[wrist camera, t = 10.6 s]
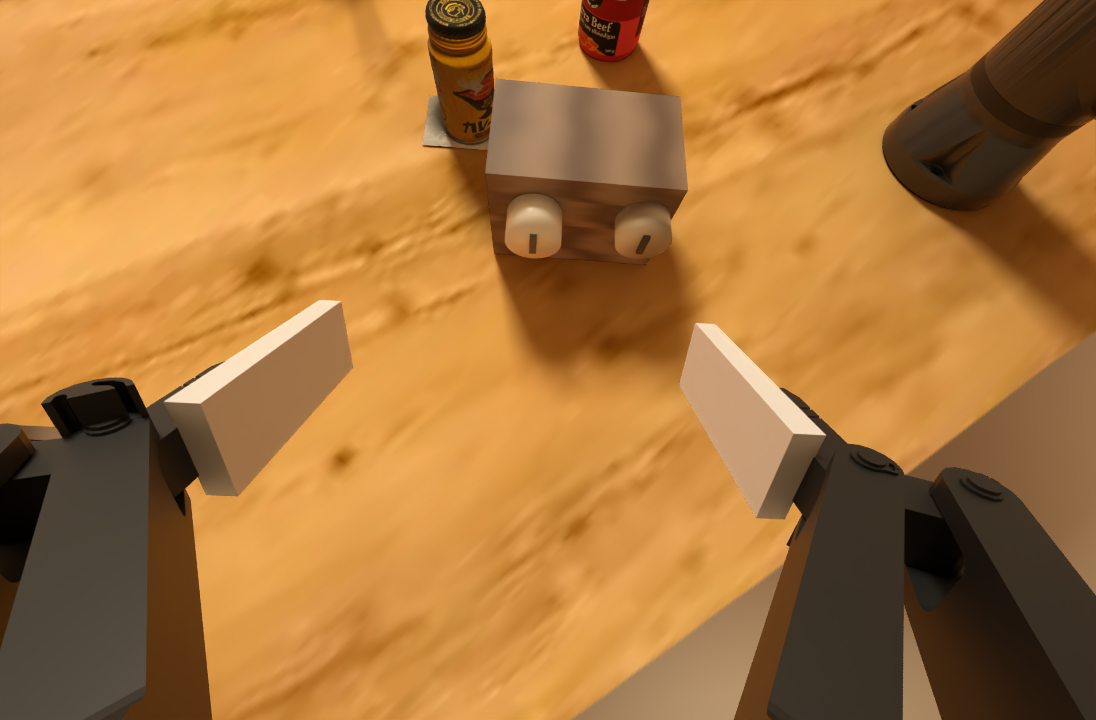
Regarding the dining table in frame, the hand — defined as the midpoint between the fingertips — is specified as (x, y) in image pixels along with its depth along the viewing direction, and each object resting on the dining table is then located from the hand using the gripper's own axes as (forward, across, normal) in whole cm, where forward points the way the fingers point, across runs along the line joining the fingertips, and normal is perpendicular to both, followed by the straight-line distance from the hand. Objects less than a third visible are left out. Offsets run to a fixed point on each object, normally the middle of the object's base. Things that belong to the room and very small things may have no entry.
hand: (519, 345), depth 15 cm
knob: (+28, 0, +3) cm, 28 cm away
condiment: (+40, -9, +9) cm, 42 cm away
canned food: (+52, +8, +20) cm, 56 cm away
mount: (+31, +4, -1) cm, 31 cm away
